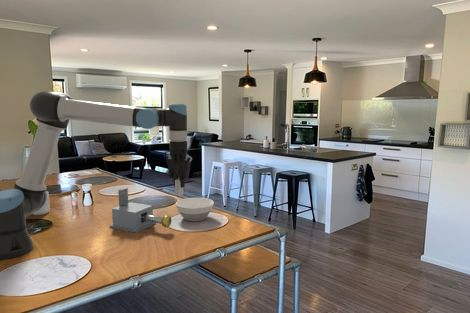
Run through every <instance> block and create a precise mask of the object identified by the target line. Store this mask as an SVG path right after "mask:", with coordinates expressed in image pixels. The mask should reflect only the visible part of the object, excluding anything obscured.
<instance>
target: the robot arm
mask: <svg viewBox="0 0 470 313" xmlns="http://www.w3.org/2000/svg"><path fill="white" fill-rule="evenodd" d="M29 109H30V112H31V114H32V115H33V116H34V117H35V118H36V119H35V121H36V122H37V124H38V126H37V129H36V132H35V136H34V138H33V142H32V144H31V147H30V150H29V153H28V156H27V160H26V163H25V165H24V168H23V172H22V175H21V177H20V178H19V179H16V180H15V181H14V182H15V183H14V185H13V188H12V189H11V188H10V189H8V188H7V189H4V190H0V260H7V258H8V259H13V258H16V257H21V256H22V255H25V254H28V253H30V251H32V250H33V248H34V242H33V240H32V238H31V235H30V234H29V232H28V230H27V220H26V218H28V217H29V216H30V215H33V214H32V213H34V212H36V211H38V210H39V209H41V207H42V206H43V205H44V204H45V202H46V200H47V194H46V192H45V191H47V185H46V183H45V181H46V178H47V176H48V175H47V174H48V173H49V169H50V167H51V163H52V160H53V157H54V154H55V152H56V148H57V145H58V143H59V140H60V137H61V134H62V132H63V131H65V130H67V128H68V126H69V123H70V120H71V121H79V122H86V123H87V122H88V123H90V122H91V123H97V124H99V123H100V124H107V125H108V124H109V125H116V126H118V125H119V126H126V127H135V128H142V129H145V130H150V129H154V128H155V127H156V128H157V127H164V128H165V127H169V128H168V131H169V132H168V135H169V136H168V137H169V138H168V139H169V140H170V141H169V150H170V151H169V154H167V155H165V156H164V159H165V160H166V165H167V170H168V175H169V178H171V179H173V187H174V189H175V190H174V191H175V192H174V193H175V194H174V195H175V196H177V195H178V196H182V195H185V194H184V188H185V187H186V182H185V181H186V180H187V179H189V178H190V171H191V167H192V166H191V165H192V161H193V158H194V157H192V156H190V155H189V153H188V141H187V140H188V113H187V112H188V111H187V105H186V104H184V103H169V104H168V107H167V108H148V107H137V106H129V105H121V104H120V105H119V104H111V103H104V102H95V101H89V100H88V101H87V100H78V99H73V97H72V96H70V95H69V94H66V93H64V92H60V91H48V90H47V91H46V90H43V91H40V92H37V93H36V94H34V95H33V96H32V97H31V99H30V101H29Z"/></svg>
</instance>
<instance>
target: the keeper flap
mask: <svg viewBox="0 0 470 313" xmlns="http://www.w3.org/2000/svg"><path fill="white" fill-rule="evenodd" d="M117 193H118V206H119V207H121V206H124V205H127V204H128V203H129V191H128V187H124V188H121V189H118V192H117Z"/></svg>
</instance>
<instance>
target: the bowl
mask: <svg viewBox="0 0 470 313" xmlns="http://www.w3.org/2000/svg"><path fill="white" fill-rule="evenodd" d="M214 204H215V202H214V200H213V199H210V198H206V197H186V198H181V199H179V200H177V201H176V202H175V206H176V208H177V211H178V212H179V214H180V215H181V217H182V218H183V219H184V220H185V221H188V222H201V221H203V220H204V221H205V220H206V219H207V217H208V216H209V214H210V213H211V211H212V210H213V207H214Z"/></svg>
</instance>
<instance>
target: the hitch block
mask: <svg viewBox="0 0 470 313" xmlns="http://www.w3.org/2000/svg"><path fill="white" fill-rule="evenodd" d="M153 207H154V206H153V205H150V204H145V203H138V202H129V201H128V204H127V205H124V206H121V207H119V205H118V206H115V207H112V209H111V214H112V216H111V217H112V224H109V228H111V229H116V230H121V231H125V232H130V233H134V232H135V233H136V234H137V233H139V232H141V231H143V230H146V229H147V228H149V227H152V226H154V225H156V224H157V223H154V222H149V221H143V220H141V214H147V215H153V214H154V208H153ZM153 216H154V215H153Z"/></svg>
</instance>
